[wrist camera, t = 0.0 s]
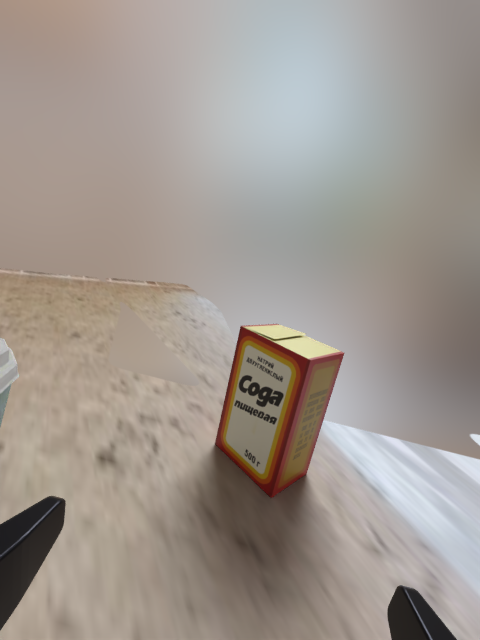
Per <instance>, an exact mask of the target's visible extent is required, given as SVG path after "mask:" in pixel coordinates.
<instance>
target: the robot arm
mask: <svg viewBox="0 0 480 640" xmlns="http://www.w3.org/2000/svg"><path fill="white" fill-rule="evenodd" d="M64 516H65V500H64V499H63V498H59V497H55V496H49V497H47V498H45V499H43V500H41V501H40V502H38V503H36V504H35V505H33V506H31V507H29V508H28V509H26V510H24V511H23V512H21V513H19V514H18V515H16V516H14V517H12V518H11V519H9V520H7V521H6V522H4V523H2V524H0V630H1V629H2V627H3V626H4V624H5V623H6V622H7V620H8V619H9V617H10V616H11V614H12V613H13V611H14V610H15V608H16V607H17V605H18V604H19V602H20V601H21V599H22V597H23V596H24V594H25V592H26V591H27V589H28V587H29V586H30V584H31V582H32V580H33V579H34V577H35V575H36V574H37V572H38V570H39V568H40V567H41V565H42V563H43V562H44V560H45V558H46V556H47V555H48V553H49V551H50V549H51V548H52V546H53V544H54V543H55V541H56V539H57V537H58V536H59V534H60V532H61V530H62V527H63V524H64ZM387 614H388V622H389V628H390V633H391V638H392V640H457V639H456V638H455V637H454V635H453V634H452V633H451V632H450V630H449V629H448V628H447V627H446V626H445V624H444V623H443V622H442V621H441V619H440V618H439V617H438V616H437V614H436V613H435V612H434V611H433V609H432V608H431V607H430V606H429V605H428V603H427V602H426V601H425V600H424V598H423V597H422V596H421V595H420V593H419V592H418V591H416V590H415V589H413V588H410V587H406V586H402V585H400V586H398V587H397V588H396V590H395V593H394V595H393V597H392V599H391V602H390V604H389V606H388V613H387Z"/></svg>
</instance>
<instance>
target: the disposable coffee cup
mask: <svg viewBox="0 0 480 640" xmlns="http://www.w3.org/2000/svg"><path fill="white" fill-rule="evenodd" d="M18 377H19V374H18V372H17V362H16V360H15V357H14V355H13V352H12V350H11V349H10V348H9V347H8V346H7V344H6V342H5V340H4V339H2V338H0V426H1V422H2V418H3V414H4V411H5V407H6V403H7V399H8V395H9V391H10V387H11V383H12V382H14V381H15V380H16V379H17V378H18Z"/></svg>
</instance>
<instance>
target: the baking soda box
mask: <svg viewBox="0 0 480 640" xmlns="http://www.w3.org/2000/svg"><path fill="white" fill-rule="evenodd" d="M304 335H305V334H304V333H302V332H299V331H296V330H293V329H290V328H287V327H284V326H281V325H279V324H268V325H251V326H250V325H249V326H241V327H240V332H239V337H238V341H237V346H236V350H235V355H234V360H233V364H232V369H231V373H230V378H229V382H228V387H227V392H226V396H225V401H224V405H223V410H222V414H221V419H220V424H219V428H218V433H217V437H216V442H215V444H216V445H217V446H218V447H219V448H220V449H221V450H222V451H223V452H224V453H225V454H226V455H227V456H228V457H229V458H230V459H231V460H232V461H233V462H234V463H235V464H236V465H237V466H238V467H239V468H241V469H242V470H243V471H244V472H245V473H246V474H247V475H248V476H249V477H250V478H251V479H252V480H253V481H254V482H255V483H256V484H257V485H258V486H259V487H260V488H261V489H262V490H263V491H264V492H265V493H266V494H267V495H269V496H270V497H271V498H272V497H274V496H275V495H276V494H278V493H279V492H281V491H282V490H284V489H285V488H287V487H288V486H290V485H291V484H292V483H294V482H295V481H297V480H298V479H300V478H301V477H303V476H304V475H306V473H307V470H308V467H309V464H310V461H311V457H312V454H313V451H314V448H315V445H316V441H317V438H318V435H319V432H320V429H321V426H322V422H323V419H324V416H325V413H326V409H327V406H328V403H329V400H330V397H331V394H332V390H333V387H334V384H335V381H336V378H337V374H338V371H339V368H340V365H341V362H342V359H343V355H344V353H343V352H341V351H339V350H336V349H334V348H332V347H329V346H327V345H325V344H323V343H321V342H318V341H316V340H313V339H311V338H309V337H307V336H304Z"/></svg>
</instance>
